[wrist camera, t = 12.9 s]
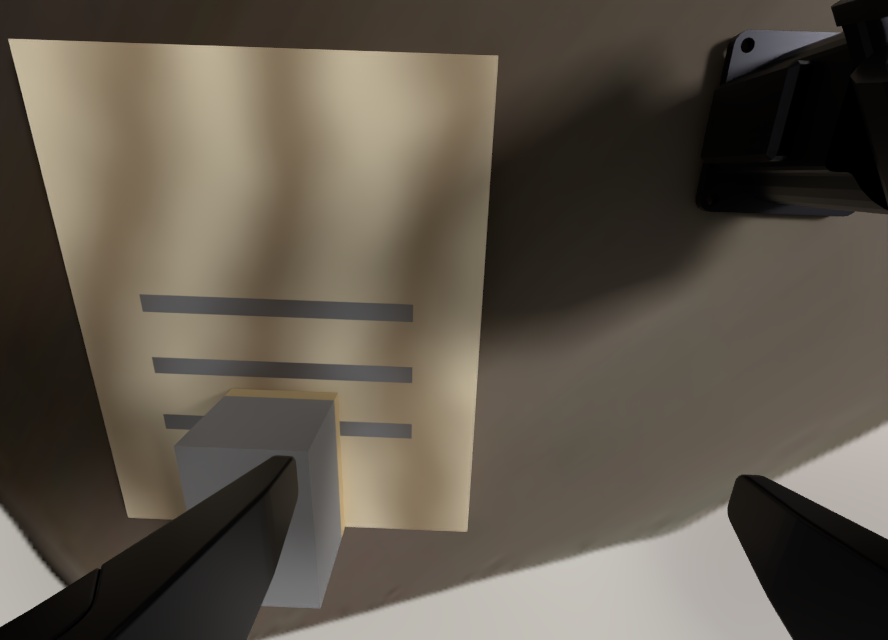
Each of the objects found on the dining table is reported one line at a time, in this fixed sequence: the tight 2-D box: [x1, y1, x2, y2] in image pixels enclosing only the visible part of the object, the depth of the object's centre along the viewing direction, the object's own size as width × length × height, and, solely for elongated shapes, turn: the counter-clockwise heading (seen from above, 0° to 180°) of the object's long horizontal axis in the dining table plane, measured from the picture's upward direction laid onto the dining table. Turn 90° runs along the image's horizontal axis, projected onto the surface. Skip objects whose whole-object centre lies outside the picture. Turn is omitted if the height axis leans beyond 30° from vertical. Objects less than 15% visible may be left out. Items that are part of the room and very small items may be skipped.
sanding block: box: [174, 389, 345, 608], centre depth 20 cm, size 5×8×4 cm, turn 178°
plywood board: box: [8, 39, 498, 532], centre depth 20 cm, size 18×22×1 cm
